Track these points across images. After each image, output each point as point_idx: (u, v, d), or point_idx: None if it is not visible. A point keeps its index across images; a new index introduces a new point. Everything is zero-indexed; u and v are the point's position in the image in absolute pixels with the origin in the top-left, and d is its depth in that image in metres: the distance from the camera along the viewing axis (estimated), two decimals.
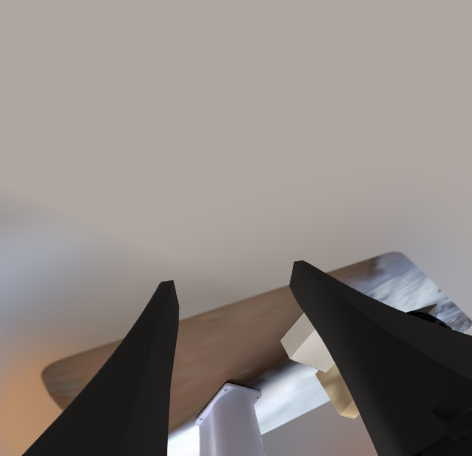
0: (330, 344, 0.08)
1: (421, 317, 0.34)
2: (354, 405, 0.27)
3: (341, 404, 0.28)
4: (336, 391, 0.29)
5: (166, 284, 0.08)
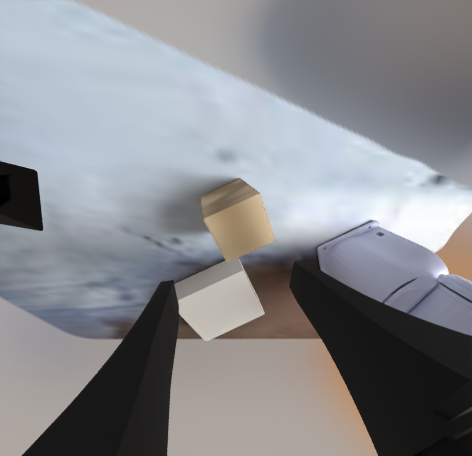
0: (330, 344, 0.08)
1: None
2: (243, 242, 0.14)
3: None
4: None
5: (166, 284, 0.08)
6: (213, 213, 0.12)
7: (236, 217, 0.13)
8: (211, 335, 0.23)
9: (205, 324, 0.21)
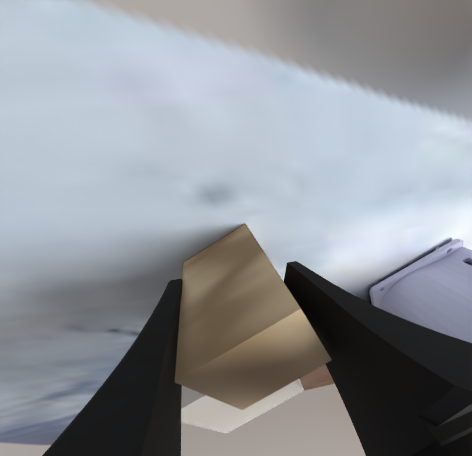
0: None
1: None
2: (270, 380, 0.07)
3: None
4: None
5: (175, 283, 0.08)
6: (197, 365, 0.05)
7: (249, 357, 0.06)
8: (232, 426, 0.16)
9: (222, 420, 0.15)
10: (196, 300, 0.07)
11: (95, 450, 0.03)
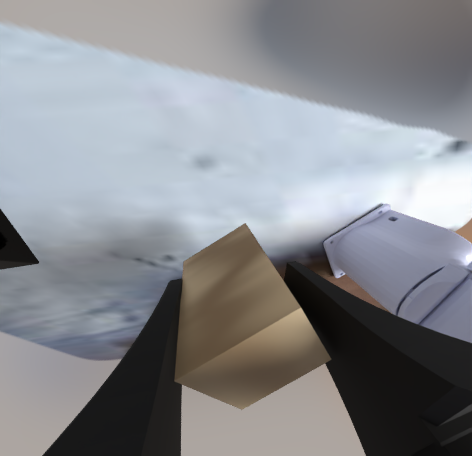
0: None
1: None
2: (270, 380, 0.07)
3: None
4: None
5: (175, 283, 0.08)
6: (197, 364, 0.05)
7: (249, 356, 0.06)
8: None
9: None
10: (196, 299, 0.07)
11: (95, 450, 0.03)
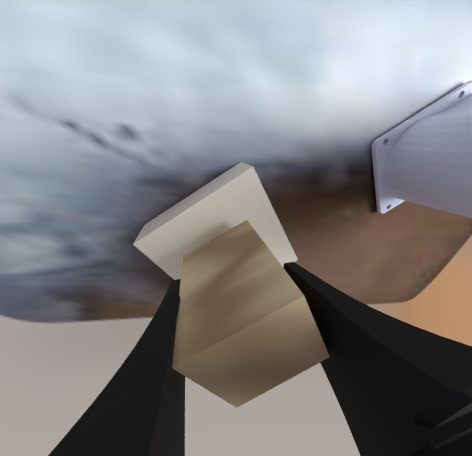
0: None
1: None
2: (267, 375, 0.07)
3: None
4: None
5: (178, 282, 0.08)
6: (196, 351, 0.05)
7: (249, 345, 0.05)
8: None
9: None
10: (196, 290, 0.07)
11: (103, 448, 0.03)
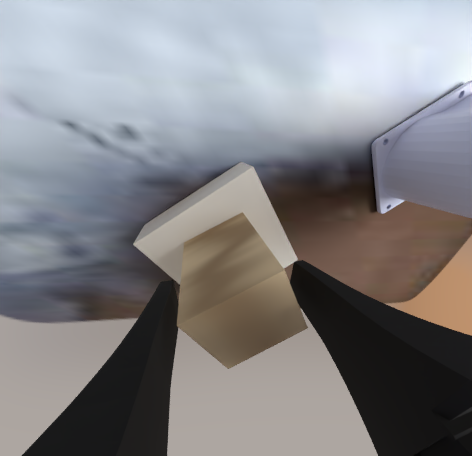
0: (330, 344, 0.08)
1: None
2: (255, 340, 0.08)
3: None
4: None
5: (166, 284, 0.08)
6: (197, 313, 0.06)
7: (240, 311, 0.07)
8: None
9: None
10: (196, 269, 0.08)
11: None
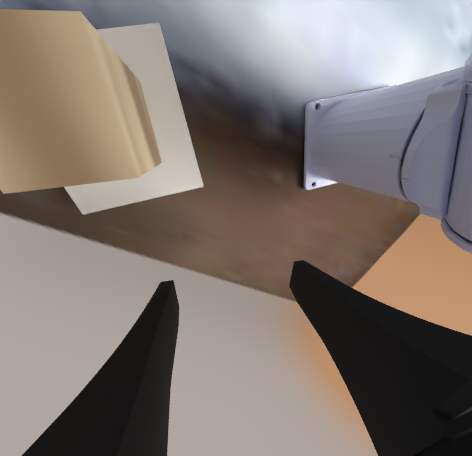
0: (330, 344, 0.08)
1: None
2: (47, 151, 0.06)
3: None
4: None
5: (166, 284, 0.08)
6: None
7: (6, 58, 0.05)
8: (93, 200, 0.12)
9: None
10: None
11: None
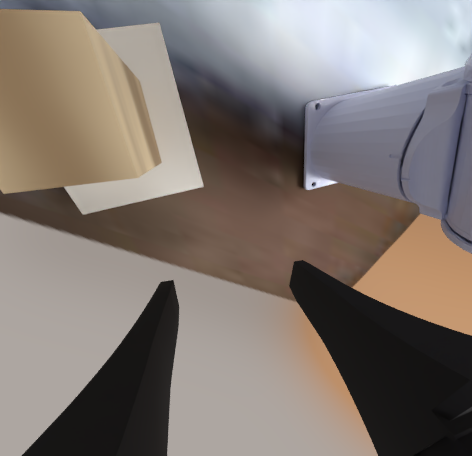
0: (330, 344, 0.08)
1: None
2: (47, 151, 0.06)
3: None
4: None
5: (166, 284, 0.08)
6: None
7: (6, 58, 0.05)
8: (93, 200, 0.12)
9: None
10: None
11: None
